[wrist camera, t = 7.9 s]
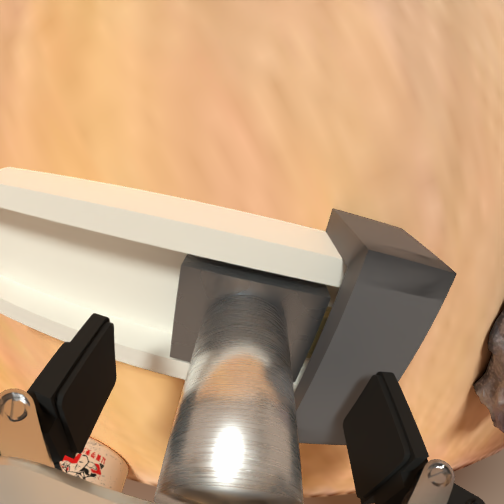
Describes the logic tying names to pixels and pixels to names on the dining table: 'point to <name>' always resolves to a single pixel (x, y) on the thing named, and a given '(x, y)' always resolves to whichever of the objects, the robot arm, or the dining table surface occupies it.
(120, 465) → the teacup with lid
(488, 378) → the geode
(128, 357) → the track
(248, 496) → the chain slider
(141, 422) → the dining table surface
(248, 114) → the dining table surface
